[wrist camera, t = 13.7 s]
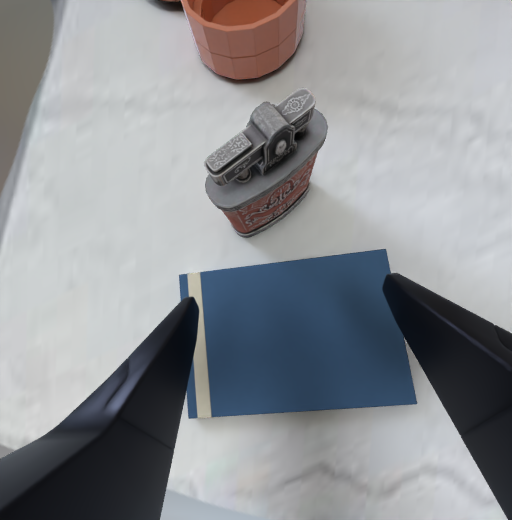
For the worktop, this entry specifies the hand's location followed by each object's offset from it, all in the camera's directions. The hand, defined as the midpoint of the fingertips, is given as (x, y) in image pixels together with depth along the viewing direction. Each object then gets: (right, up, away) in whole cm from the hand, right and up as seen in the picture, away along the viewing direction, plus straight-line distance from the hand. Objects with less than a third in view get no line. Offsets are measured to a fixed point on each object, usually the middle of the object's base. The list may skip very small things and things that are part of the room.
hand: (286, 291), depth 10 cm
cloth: (+1, -5, +8) cm, 9 cm away
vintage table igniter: (0, +6, +10) cm, 12 cm away
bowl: (-2, +25, +12) cm, 28 cm away
